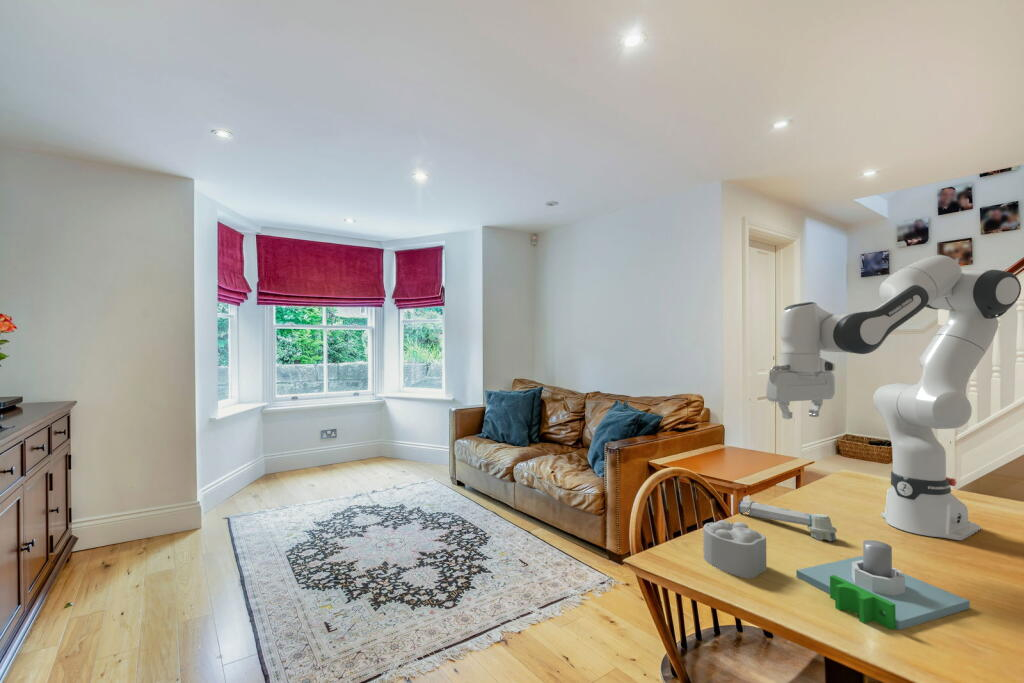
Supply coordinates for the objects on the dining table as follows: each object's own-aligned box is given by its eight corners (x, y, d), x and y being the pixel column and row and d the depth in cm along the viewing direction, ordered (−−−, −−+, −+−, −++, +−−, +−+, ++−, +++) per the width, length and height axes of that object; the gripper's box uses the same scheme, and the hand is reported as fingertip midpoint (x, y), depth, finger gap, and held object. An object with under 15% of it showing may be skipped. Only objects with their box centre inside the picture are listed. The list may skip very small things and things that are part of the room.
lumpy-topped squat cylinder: (747, 581, 100) (747, 540, 100) (693, 558, 110) (692, 522, 110) (771, 567, 106) (771, 529, 106) (717, 547, 116) (717, 512, 116)
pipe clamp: (820, 601, 92) (820, 577, 92) (834, 597, 94) (833, 574, 94) (881, 633, 82) (881, 607, 82) (896, 629, 83) (895, 603, 83)
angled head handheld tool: (745, 498, 142) (837, 511, 121) (748, 521, 141) (841, 538, 120) (735, 501, 139) (827, 515, 118) (738, 524, 138) (831, 542, 117)
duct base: (861, 562, 108) (860, 542, 108) (969, 608, 89) (969, 584, 89) (796, 577, 101) (796, 556, 101) (899, 630, 83) (898, 604, 83)
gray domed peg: (873, 577, 98) (873, 538, 98) (897, 587, 94) (897, 547, 94) (858, 580, 97) (857, 542, 97) (882, 592, 92) (881, 551, 92)
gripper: (780, 366, 116) (781, 422, 116) (839, 364, 123) (840, 417, 123) (759, 365, 122) (760, 418, 122) (817, 363, 129) (817, 414, 129)
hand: (800, 417), depth 122 cm, fingers open, 8 cm apart
